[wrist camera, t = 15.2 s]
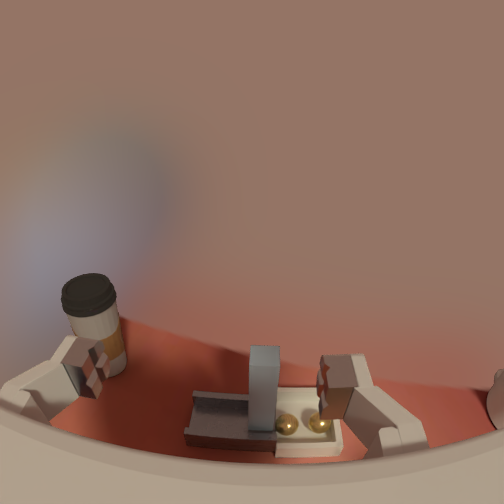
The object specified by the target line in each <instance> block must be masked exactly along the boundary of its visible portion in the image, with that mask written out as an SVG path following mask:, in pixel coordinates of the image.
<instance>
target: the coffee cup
mask: <svg viewBox="0 0 504 504" xmlns="http://www.w3.org/2000/svg"><path fill="white" fill-rule="evenodd" d="M61 302H62V307H63V310H64V312H65V313H66V314H67V316H68V319H69V321H70V324H71V327H72V330H73V332H74V334H75V336H77V337H84V338H89V339H95V340H100V341H102V342H103V344H104V347H105V349H104V351H103V352H104V353H105V354H106V355H107V356H108V358H109V361H110V372H109V375H108V377H112V376H115V375H118V374H119V373H121V372H122V371H123V370H124V368H125V366H126V363H127V357H126V353H125V345H124V340H123V335H122V330H121V324H120V319H119V313H118V311H117V304H116V292H115V290H114V286H113V284H112V283H111V282H110V280H109V279H108V278H107V277H106V276H105V275H102V274H97V273H89V274H83V275H80V276H77V277H75V278H73V279H71V280H70V281H68V282H67V283H66V284H65V285H64V286H63V288H62V297H61Z"/></svg>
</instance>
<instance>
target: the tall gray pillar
mask: <svg viewBox="0 0 504 504" xmlns="http://www.w3.org/2000/svg"><path fill="white" fill-rule="evenodd" d="M250 350H251V351H250V362H249V407H248V433H269V434H273V423H274V415H275V407H276V399H277V390H278V381H279V372H280V346H260V345H251V348H250Z"/></svg>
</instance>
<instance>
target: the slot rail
mask: <svg viewBox="0 0 504 504" xmlns="http://www.w3.org/2000/svg"><path fill="white" fill-rule="evenodd" d="M192 397H193V403H194V407H193V411H192V416H191V420H190V425H189V428H188V427H185V430H184V436H185V440H186V444H187V445H188V446H196V447H205V448H215V449H227V450H242V451H264V452H275V449H276V443H277V434H276V428H275V421H276V407H275V415H274V423H273V434H269V433H248V407H249V395H247V394H230V393H216V392H204V391H193V395H192ZM276 404H277V399H276Z"/></svg>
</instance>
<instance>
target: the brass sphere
mask: <svg viewBox="0 0 504 504" xmlns="http://www.w3.org/2000/svg"><path fill="white" fill-rule="evenodd" d="M298 427H299V422H298V419H297V418H296V417H295V416H294V415H292V414H288V413H286V414H282V415H280V416H279V417H278V418H277V419H276V421H275V428H276V430H277V432H278V433H279V434H281V435H284V436H289V435H292V434H294V433H295V432H296V431H297V429H298Z"/></svg>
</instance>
